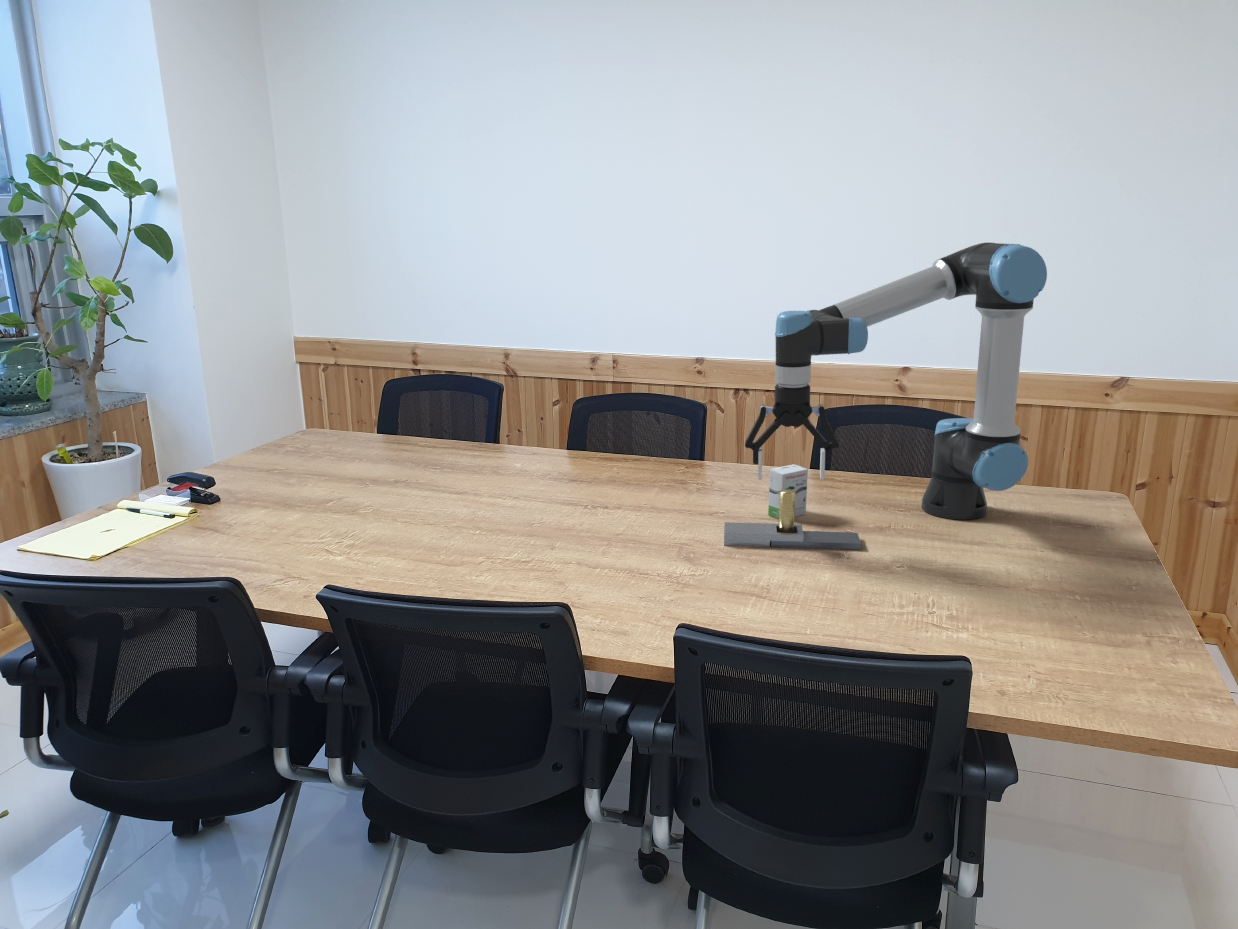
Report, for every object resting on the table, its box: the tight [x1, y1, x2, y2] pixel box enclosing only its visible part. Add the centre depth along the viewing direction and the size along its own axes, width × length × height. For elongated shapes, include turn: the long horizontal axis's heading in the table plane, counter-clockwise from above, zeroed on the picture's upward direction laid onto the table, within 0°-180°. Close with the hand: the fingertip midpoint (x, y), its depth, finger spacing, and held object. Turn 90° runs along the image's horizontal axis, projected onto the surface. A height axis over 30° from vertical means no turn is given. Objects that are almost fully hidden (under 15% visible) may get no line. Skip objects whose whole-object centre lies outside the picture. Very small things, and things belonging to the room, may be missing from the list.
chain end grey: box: [723, 521, 804, 548], centre depth 206 cm, size 18×7×3 cm, turn 82°
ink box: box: [767, 463, 809, 520], centre depth 222 cm, size 9×5×12 cm, turn 123°
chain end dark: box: [770, 530, 862, 551], centre depth 205 cm, size 20×7×2 cm, turn 82°
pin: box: [778, 489, 796, 533], centre depth 204 cm, size 3×3×12 cm
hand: (790, 478), depth 202 cm, fingers open, 13 cm apart
